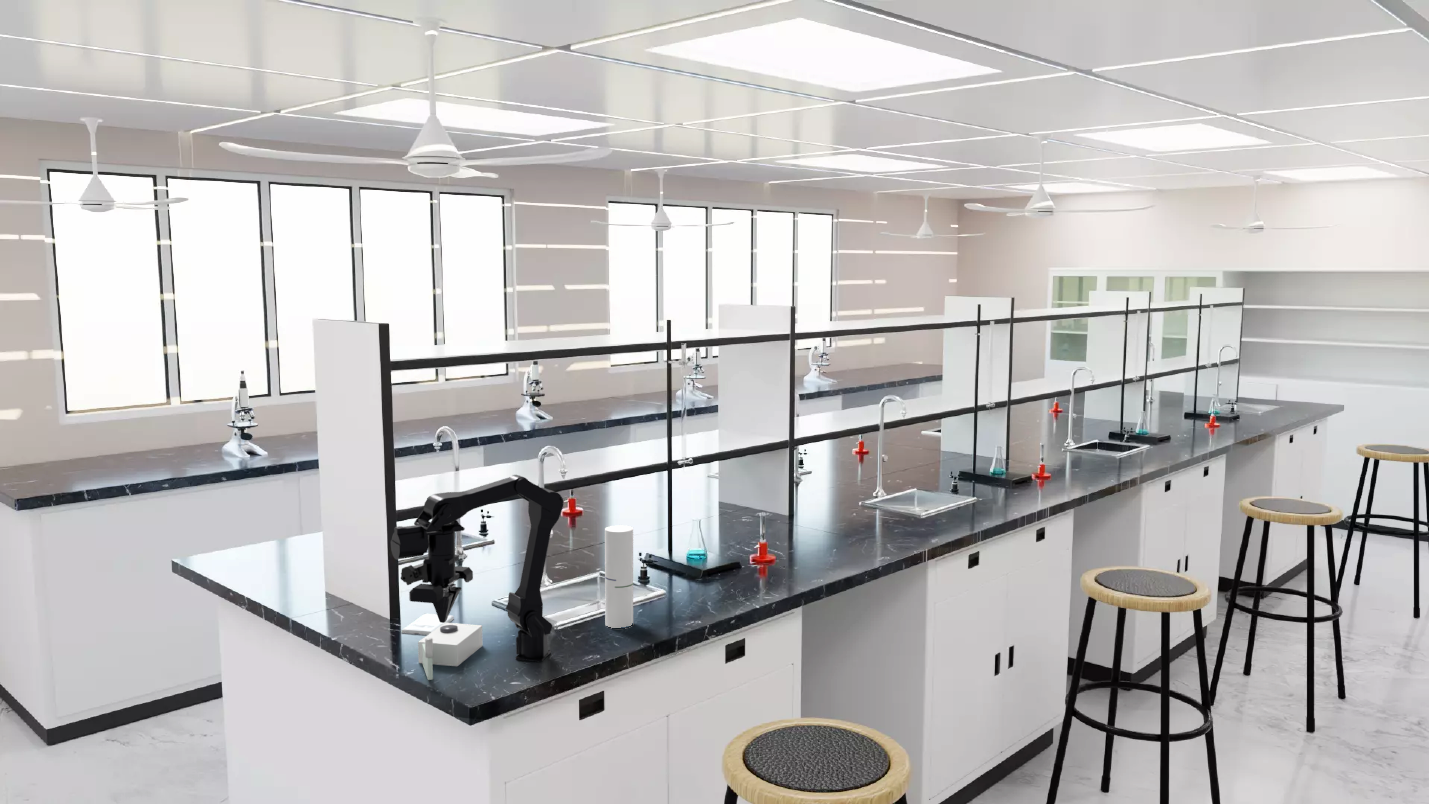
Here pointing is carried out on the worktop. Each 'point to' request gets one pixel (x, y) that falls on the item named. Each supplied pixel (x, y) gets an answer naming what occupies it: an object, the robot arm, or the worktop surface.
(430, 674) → the side door
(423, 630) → the external hard drive
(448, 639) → the instrument case
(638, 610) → the worktop surface
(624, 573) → the cylindrical container
